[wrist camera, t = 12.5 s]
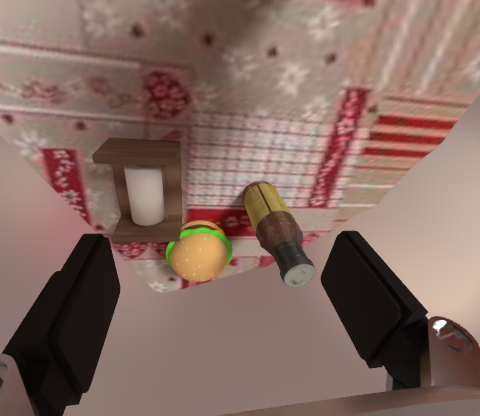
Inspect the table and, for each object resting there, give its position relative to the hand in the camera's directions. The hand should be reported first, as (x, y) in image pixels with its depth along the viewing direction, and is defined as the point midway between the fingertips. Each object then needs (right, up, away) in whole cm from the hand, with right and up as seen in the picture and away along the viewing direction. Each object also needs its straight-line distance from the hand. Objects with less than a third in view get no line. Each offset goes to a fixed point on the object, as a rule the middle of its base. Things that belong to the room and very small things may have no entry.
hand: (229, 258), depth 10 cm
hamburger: (-8, -4, +38) cm, 39 cm away
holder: (-14, +6, +30) cm, 34 cm away
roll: (-14, +5, +27) cm, 31 cm away
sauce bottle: (+4, +5, +34) cm, 35 cm away
